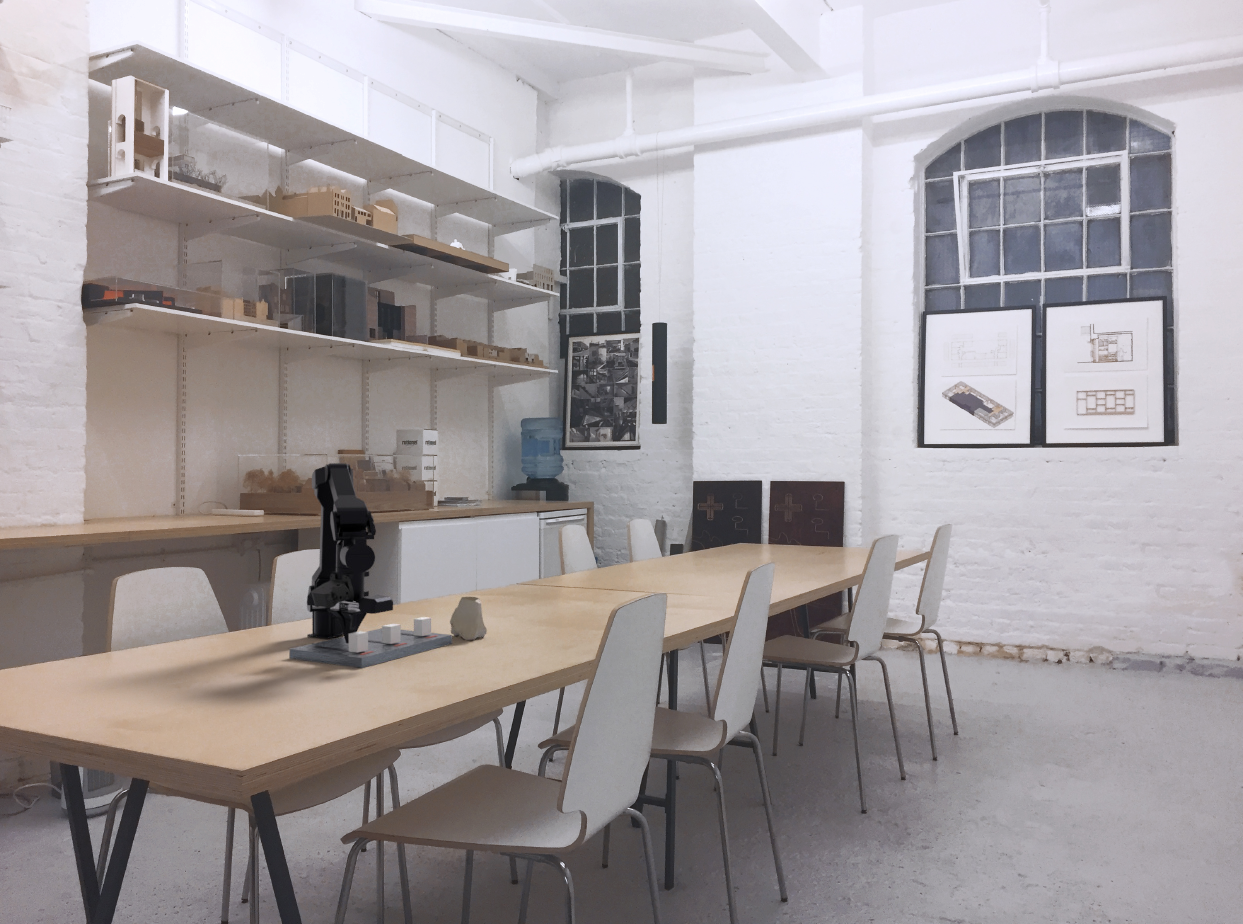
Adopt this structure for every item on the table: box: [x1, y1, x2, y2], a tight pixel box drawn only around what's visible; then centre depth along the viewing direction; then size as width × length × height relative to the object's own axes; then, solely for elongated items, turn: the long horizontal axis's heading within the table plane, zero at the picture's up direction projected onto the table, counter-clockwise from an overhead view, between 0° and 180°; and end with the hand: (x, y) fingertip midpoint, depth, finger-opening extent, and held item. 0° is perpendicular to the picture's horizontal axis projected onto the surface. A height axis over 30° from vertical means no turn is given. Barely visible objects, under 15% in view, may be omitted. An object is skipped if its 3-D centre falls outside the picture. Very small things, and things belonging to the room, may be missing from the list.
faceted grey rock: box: [449, 596, 488, 641], centre depth 215 cm, size 9×8×10 cm
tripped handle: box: [349, 630, 368, 653], centre depth 188 cm, size 2×3×4 cm
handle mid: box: [381, 623, 402, 644], centre depth 197 cm, size 2×3×4 cm
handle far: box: [413, 616, 432, 636], centre depth 206 cm, size 2×3×4 cm
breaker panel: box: [288, 627, 453, 669], centre depth 199 cm, size 20×28×2 cm
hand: (348, 643), depth 189 cm, fingers closed
